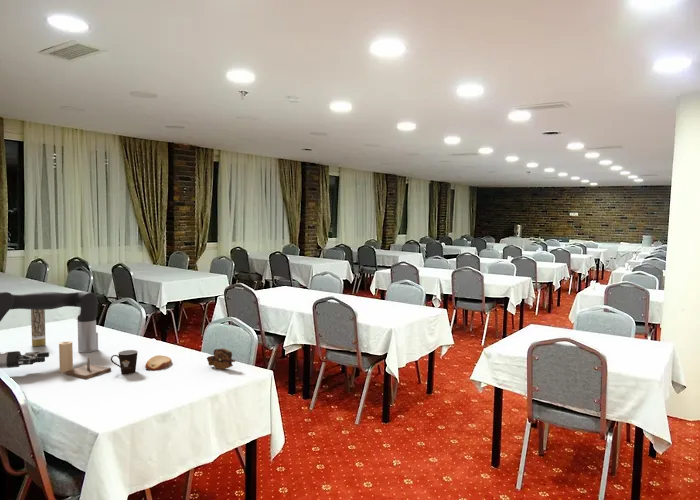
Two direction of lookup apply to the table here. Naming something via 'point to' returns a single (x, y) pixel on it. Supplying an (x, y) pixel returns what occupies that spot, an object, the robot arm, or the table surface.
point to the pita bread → (158, 363)
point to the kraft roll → (65, 356)
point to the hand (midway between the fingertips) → (46, 356)
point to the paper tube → (38, 327)
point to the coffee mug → (127, 361)
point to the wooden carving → (221, 359)
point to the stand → (88, 370)
